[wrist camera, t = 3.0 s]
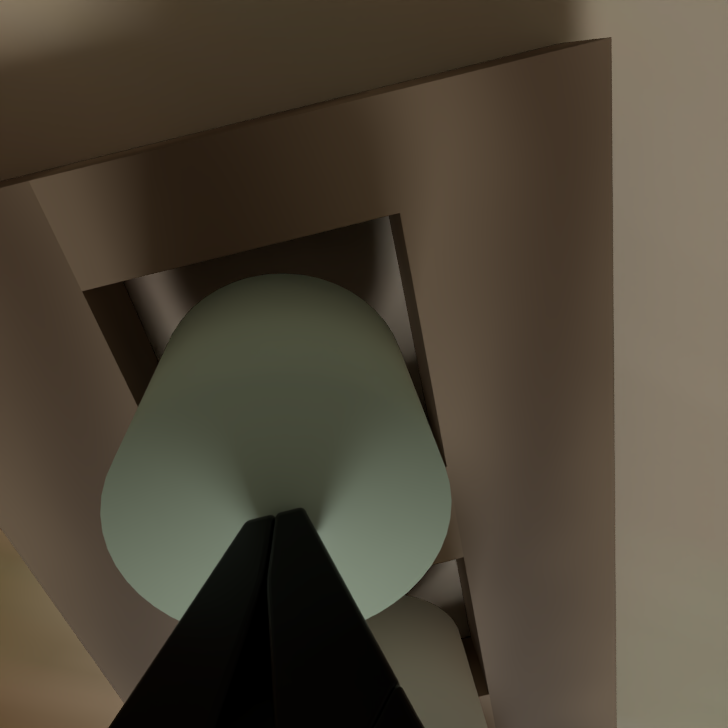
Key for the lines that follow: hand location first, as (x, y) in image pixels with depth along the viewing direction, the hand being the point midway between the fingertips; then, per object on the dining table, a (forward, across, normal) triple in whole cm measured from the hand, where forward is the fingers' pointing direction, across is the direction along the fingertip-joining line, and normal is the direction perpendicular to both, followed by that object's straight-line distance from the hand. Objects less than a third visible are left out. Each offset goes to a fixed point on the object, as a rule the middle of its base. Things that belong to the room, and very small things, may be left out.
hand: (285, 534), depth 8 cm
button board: (+6, 0, +9) cm, 11 cm away
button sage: (+4, 0, 0) cm, 4 cm away
